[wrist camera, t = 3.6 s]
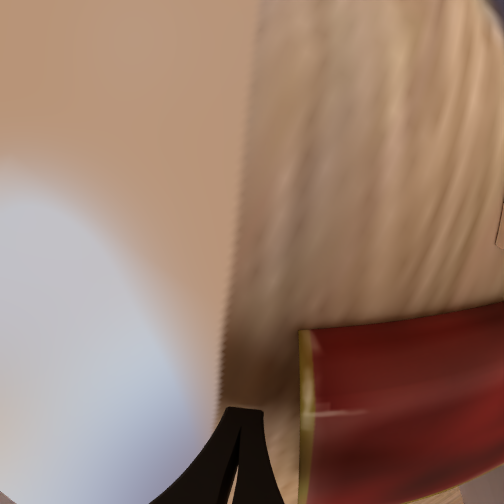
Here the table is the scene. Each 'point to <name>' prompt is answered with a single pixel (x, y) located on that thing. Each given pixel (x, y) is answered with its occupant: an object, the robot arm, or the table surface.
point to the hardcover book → (401, 407)
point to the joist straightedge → (501, 233)
